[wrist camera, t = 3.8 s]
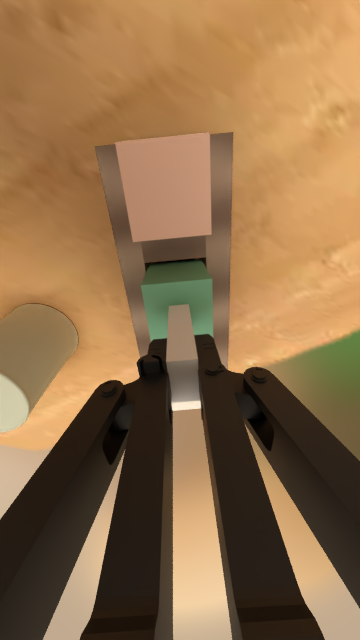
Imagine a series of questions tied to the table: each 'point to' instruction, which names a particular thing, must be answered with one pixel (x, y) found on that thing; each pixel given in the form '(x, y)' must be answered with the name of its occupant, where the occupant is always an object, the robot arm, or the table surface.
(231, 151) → the walnut board
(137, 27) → the table surface
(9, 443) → the table surface
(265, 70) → the table surface
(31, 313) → the can
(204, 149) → the terracotta block
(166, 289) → the green block
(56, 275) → the table surface
